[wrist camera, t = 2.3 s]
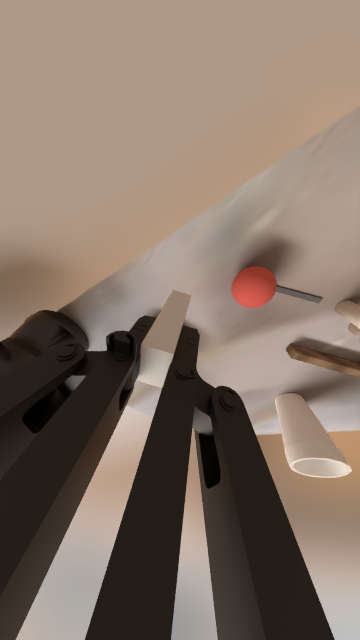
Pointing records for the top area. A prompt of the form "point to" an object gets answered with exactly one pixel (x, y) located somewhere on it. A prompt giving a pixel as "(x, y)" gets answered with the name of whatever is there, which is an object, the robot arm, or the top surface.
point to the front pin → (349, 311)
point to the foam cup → (308, 440)
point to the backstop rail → (324, 360)
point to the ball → (254, 286)
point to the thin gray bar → (298, 294)
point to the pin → (354, 330)
